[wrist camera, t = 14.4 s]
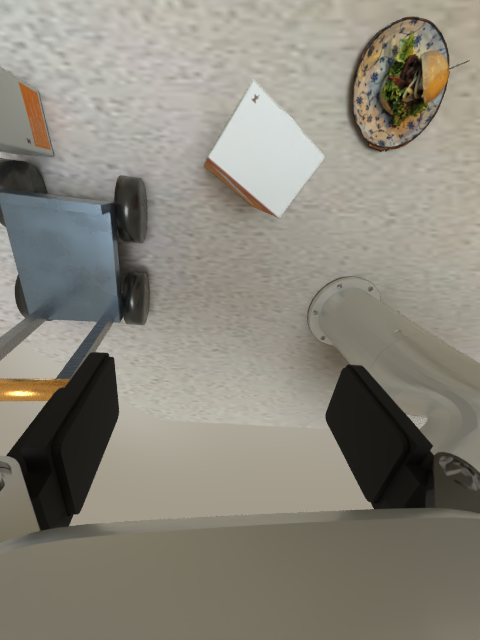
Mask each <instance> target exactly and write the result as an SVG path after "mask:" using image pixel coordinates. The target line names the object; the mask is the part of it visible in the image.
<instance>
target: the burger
mask: <svg viewBox="0 0 480 640" xmlns="http://www.w3.org/2000/svg"><path fill="white" fill-rule="evenodd" d="M469 61H470V60H469ZM466 62H468V61H466ZM466 62H464V63H466ZM464 63H461V64H464ZM461 64H458V65H456V66H459V65H461ZM456 66H453V67H452V68H454V67H456ZM449 69H451V68H449V53H448V48H447V44H446V42H445V40H444V37H443V35H442V33H441V32H440V31H439V29H438V28H437V27H436V25H435V24H433V23H432V22H431V21H429V20H427V19H423V18H419V17H405V18H402V19H400V20H397V21H395V22H393V23H391V24H389V25H388V26H386V27H385V28H384V29H382V30H380V31H379V32H378V33H377V34H376V35H375V36H374V37H373V39H372V40H371V41H370V42H369V43H368V45H367V47H366V48H365V50H364V51H363V54H362V58H361V61H360V64H359V67H358V69H357V72H356V75H355V80H354V87H353V115H354V118H355V121H356V123H357V124H358V126H359V128H360V130H361V132H362V135H363V137H364V139H366V140H367V141H368V143H369V146H371V147H373V148H375V149H379V150H380V152H381V151H384V150H385V152H386V151H387V150H389V149H397V148H400V147H403V146H405V145H407V144H408V143H409V142H411V141H412V140H414V139H415V138H416V137H417V136H418V135H420V134H421V133H422V131H423V130H424V129H425V128H426V127H427V126H428V125H429V123H430V122H431V120H432V119H433V118H434V116H435V115H436V113H437V111H438V109H439V107H440V104H441V102H442V99H443V97H444V94H445V91H446V87H447V82H448V77H449V73H450V71H449Z"/></svg>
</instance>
